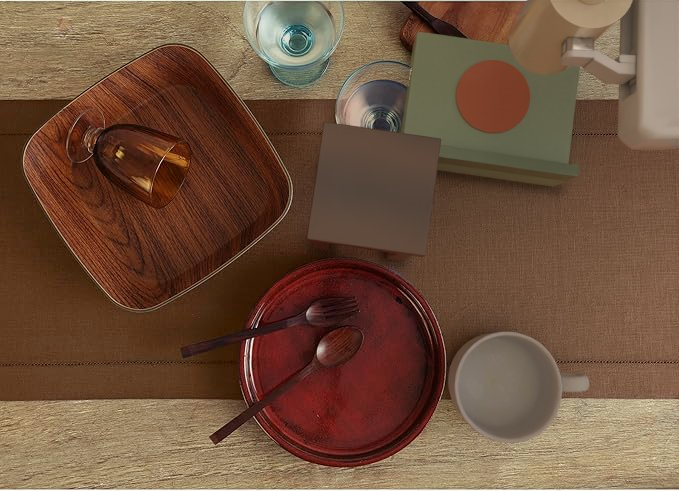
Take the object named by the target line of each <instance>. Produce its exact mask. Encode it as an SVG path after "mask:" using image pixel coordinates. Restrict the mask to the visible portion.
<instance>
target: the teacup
mask: <svg viewBox="0 0 679 491" xmlns="http://www.w3.org/2000/svg"><path fill="white" fill-rule="evenodd" d="M448 369H449V370H448V374H447V384H448V385H447V387H448V392H449V396H450V399H451V402H452V404H453V406H454V408H455V409H456V410H457V412H458V414H459V415H460V416H461V417H462V418H463V419H464V421H465V422H466V423H467V424H468V425H469V426H470V428H472V429H473V431H475V432H476V433H478V434H479V435H481V436H482V437H484V438H486V439H488V440H491V441H494V442H497V443H501V444H512V445H513V444H519V443H523V442H527V441H529V440H532V439H535V438H537V437H538V436H540V435H541V434H542V433H543V432H544V431H545V430H547V429H548V428H549V427H550V425H552V423H553V422H554V420H555V418H556V417H557V415H558V412H559V410H560V406H561V404H562V395H563V393H583V392H586V391H588V390H589V388H590V380H589V377H588V375H586V374H584V373H579V372H567V371H561V372H560V370H559V366H558V364H557V362H556V360H555V358H554V357H553V355H552V354H551V353H550V351H549V350H548V349H547V348H546V347H545V346H544V345H543V344H542V343H541V342H540V341H538V340H536V339H535V338H533V337H532V336H530V335H527V334H523V333H520V332H517V331H496V332H487V333H483V334H480V335H477V336H475V337H473V338H471V339H470V340H468V341H466V342H465V343H464V344H463V345H462V346H461V347H459V349H458V350H457V351H456V353H455V355H454V357H453V358H452V361H451V363H450V366H449V368H448Z"/></svg>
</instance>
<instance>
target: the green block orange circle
mask: <svg viewBox="0 0 679 491" xmlns="http://www.w3.org/2000/svg"><path fill="white" fill-rule="evenodd" d="M410 56H411V57H410V62H409V68H410V67H411V68H412V71H411V75H410V80H409V86H407V87H406V93H405V100H404V107H403V115H402V123H401V130H400V133H406V134H413V135H420V136H427V137H434V138H440V139H441V146H440V153H439V161H438V168H437V171H442V172H447V173H454V174H462V175H469V176H476V177H483V178H489V179H490V178H491V179H497V180H504V181H510V182H511V181H512V182H517V183H525V184H530V185H531V184H532V185H538V186H545V187H553V188H554V187H557V186H559V185H561V184H563V183H566V182H568V181H571V180H574V179H576V178H578V176H579V169H580V165H579V164H572V163H569V161H570V154H571V145H572V137H573V129H574V120H575V112H576V103H577V96H578V88H579V86H578V85H579V79H580V69H581V67H576V66H569V67H568V68H567V69H565V70H564V71H562V72H559V73H556V74H552V75H540V74H536V73H533V72H530V71H528V70H527V69H525V68H524V67H522V66H521V65H520V64H519V63H518V62H517V61H516V59H515V58H514V56H513V54H512V52H511V49H510V45H509V44H506V43H499V42H493V41H486V40H478V39H471V38H465V37H458V36H451V35H446V34H445V35H444V34H438V33H431V32H425V31H417V32H416V36H415V38H414V41H413V44H412V50H411V55H410ZM407 91H408V92H407Z"/></svg>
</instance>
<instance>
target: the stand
mask: <svg viewBox="0 0 679 491" xmlns="http://www.w3.org/2000/svg"><path fill="white" fill-rule="evenodd" d="M440 146H441V139H440V138H434V137H427V136H420V135H413V134H406V133H401V132H398V131H392V130H384V129H378V128H370V127H364V126H359V125H351V124H344V123H337V122H330V121H323V124H322V130H321V136H320V144H319V149H318V150H319V151H318V157H317V165H316V172H315V178H314V185H313V192H312V199H311V206H310V211H309V219H308V225H307V231H306V241H307V242H311V243H312V245H313V247H314V249H316V250H320V251H321V250H322V251H329V248H330V245H333V246H334V245H335V246H340V247H342V246H343V247H348V248H355V249H362V250H369V251H374V252H375V251H376V252H384V253H386V254H385V259H386V260H391V261H401V260H406V259H407V258H410V257H419V258H423V257H426V256H427V251H428V250H427V249H428V242H429V234H430V227H431V221H432V220H431V219H432V212H433V204H434V198H435V191H436V190H435V189H436V183H437V174H438V170H437V168H438V161H439V153H440Z"/></svg>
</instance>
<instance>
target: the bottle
mask: <svg viewBox="0 0 679 491" xmlns="http://www.w3.org/2000/svg"><path fill="white" fill-rule="evenodd" d="M632 1H633V0H526V1H525V3H524V4H523V6H522V7H521V9H520V10H519V12H518V13H517V15H516V16H515V18H513V21H512V23H511V25H510V28H509V31H508V45H510V49H511V52H512V54H513V56H514V58H515V59H516V61H517V62H518V63H519V64H520V65H521V66H522V67H524V68H525V69H527V70H528V71H530V72H533V73H536V74H540V75H552V74H556V73H559V72H562V71H564V70H565V69H567V68H568V67H569V66H563V65H561V44H562V43H564V42H565V40H566V39H567V38H569V37H579V38H580V39H582V38H586V37H591V38H594V44H595V43H596V42H598V41H599V39H600V38H602V37H603V36H604V35H605V34H606V33H607V32H608V31H609V30H610V29H611V28H612V27H613V26H614V25H615V24H616V23H618V22H619V21H620V19H621V18H622V17H623V16H624V14H625V13H626V12H627V11H628V9H629V8H630V6H631V4H632Z"/></svg>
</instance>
